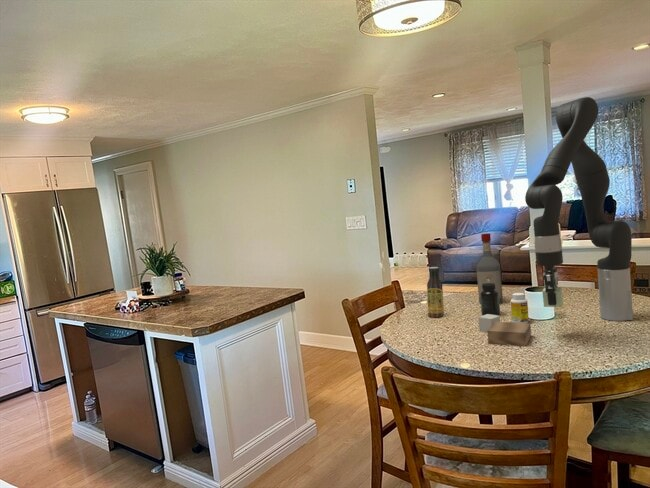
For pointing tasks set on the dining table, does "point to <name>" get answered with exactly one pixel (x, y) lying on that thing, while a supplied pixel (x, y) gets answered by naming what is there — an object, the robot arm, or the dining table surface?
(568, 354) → the dining table surface
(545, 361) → the dining table surface
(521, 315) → the supplement bottle
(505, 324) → the walnut block
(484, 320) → the grey cube
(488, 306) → the supplement bottle
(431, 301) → the sauce bottle
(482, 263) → the liquor
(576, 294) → the dining table surface
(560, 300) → the sage cube
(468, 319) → the dining table surface
